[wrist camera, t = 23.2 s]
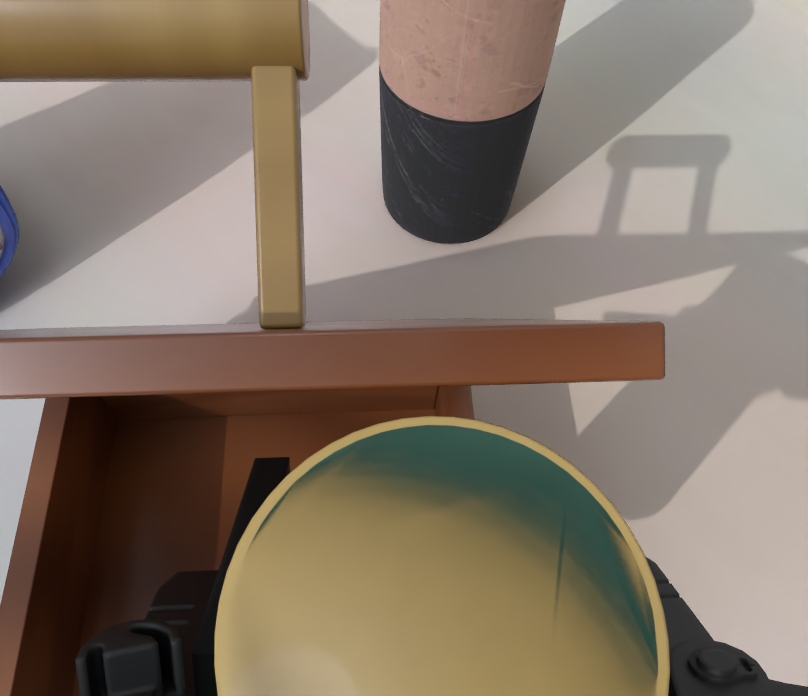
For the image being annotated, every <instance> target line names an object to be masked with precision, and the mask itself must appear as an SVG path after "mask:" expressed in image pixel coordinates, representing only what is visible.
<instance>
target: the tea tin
mask: <svg viewBox="0 0 808 696" xmlns="http://www.w3.org/2000/svg"><path fill="white" fill-rule="evenodd" d="M214 668H215V676H216V685H217V693H218V696H668V693H669V680H670V659H669V640H668V634H667V628H666V621H665V615H664V610H663V606H662V603H661V599H660V596H659V592H658V589H657V585H656V582H655V579H654V577H653V574H652V572H651V570H650V567H649V565H648V562H647V560H646V558H645V555H644V553H643V551H642V549H641V547H640V546H639V544H638V542H637V540H636V538H635V537H634V535H633V533H632V531H631V530H630V528H629V526H628V525H627V523H626V522H625V521H624V519H623V518H622V516H621V515H620V514H619V512H618V511H617V510H616V508H615V507H614V505H613V504H612V503H611V502H610V501H609V499H608V498H607V497H606V496H605V495H604V494H603V493H602V492H601V491H600V490H599V488H598V487H597V486H596V485H595V484H594V483H593V482H592V481H591V480H590V479H588V478H587V477H586V476H585V475H584V474H583V473H582V472H580V471H579V470H578V469H577V468H576V467H575V466H574V465H572V464H571V463H570V462H568V461H567V460H565V459H564V458H562V457H561V456H559V455H558V454H557V453H555V452H554V451H552V450H551V449H549V448H547V447H545V446H543V445H542V444H540V443H538V442H536V441H534V440H532V439H530V438H529V437H527V436H524V435H522V434H519V433H516V432H514V431H511V430H509V429H506V428H504V427H501V426H497V425H493V424H489V423H486V422H482V421H478V420H471V419H465V418H458V417H441V416H424V417H413V418H402V419H398V420H393V421H389V422H384V423H379V424H376V425H373V426H370V427H367V428H364V429H361V430H359V431H356V432H353V433H351V434H349V435H347V436H345V437H343V438H341V439H339V440H337V441H335V442H333V443H330V444H329V445H327V446H326V447H324V448H323V449H321V450H320V451H318V452H316V453H315V454H313V455H312V456H310V457H309V458H307V459H306V460H305V461H304V462H303V463H301V464H300V465H299V466H298V467H297V468H295V469H294V470H293V471H292V472H291V473H290V474H288V475H287V476H286V477H285V478H284V479H283V481H282V482H281V483H280V484H279V485H278V486H277V487H276V488H275V489H274V490H273V491H272V492H271V493H270V495H269V496H268V497H267V498H266V500H265V501H264V502H263V504H262V505H261V507H260V508H259V509H258V511H257V512H256V514H255V515H254V516H253V518H252V519H251V521H250V523H249V525H248V526H247V528H246V530H245V532H244V534H243V536H242V537H241V539H240V541H239V543H238V545H237V547H236V550H235V552H234V555H233V557H232V560H231V562H230V565H229V567H228V570H227V572H226V576H225V580H224V584H223V588H222V591H221V595H220V599H219V604H218V611H217V619H216V626H215V640H214Z"/></svg>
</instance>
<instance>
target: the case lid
mask: <svg viewBox="0 0 808 696" xmlns="http://www.w3.org/2000/svg"><path fill="white" fill-rule="evenodd" d="M309 71H310V37H309V12H308V0H0V82H83V81H251V86H252V117H253V148H254V178H255V209H256V240H257V271H258V302H259V323H247V324H205V325H163V326H121V327H79V328H43V329H17V330H0V399H30V398H64V397H98V396H131V395H165V394H199V393H233V392H267V391H301V390H335V389H369V388H403V387H437V386H471V385H505V384H539V383H573V382H607V381H641V380H661V379H663V378H664V376H665V327H664V324H663V323H662V322H648V321H590V320H533V319H475V318H457V319H415V320H373V321H331V322H306V297H305V263H304V229H303V195H302V162H301V128H300V94H299V81H305V80H308V77H309Z"/></svg>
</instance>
